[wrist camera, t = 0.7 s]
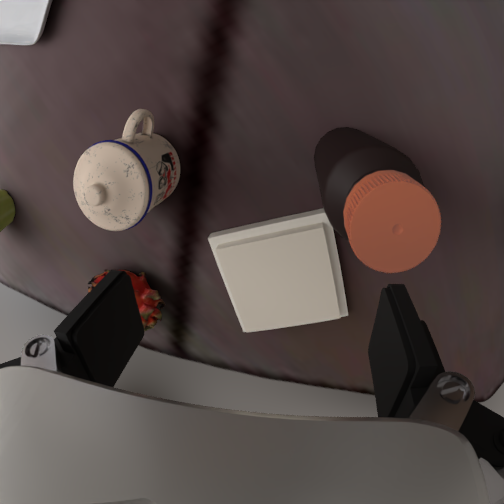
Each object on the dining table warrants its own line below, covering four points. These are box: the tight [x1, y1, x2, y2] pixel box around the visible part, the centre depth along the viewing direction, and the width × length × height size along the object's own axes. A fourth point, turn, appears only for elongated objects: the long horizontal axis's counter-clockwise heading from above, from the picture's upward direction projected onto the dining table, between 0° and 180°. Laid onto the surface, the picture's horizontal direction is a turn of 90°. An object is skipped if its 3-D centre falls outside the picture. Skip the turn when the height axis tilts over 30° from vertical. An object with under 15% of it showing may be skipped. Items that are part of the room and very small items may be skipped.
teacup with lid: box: [73, 109, 180, 231], centre depth 30 cm, size 12×9×12 cm
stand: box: [208, 208, 348, 332], centre depth 38 cm, size 14×14×3 cm
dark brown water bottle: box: [314, 127, 442, 274], centre depth 23 cm, size 7×7×20 cm
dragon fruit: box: [88, 270, 165, 331], centre depth 40 cm, size 8×8×12 cm
